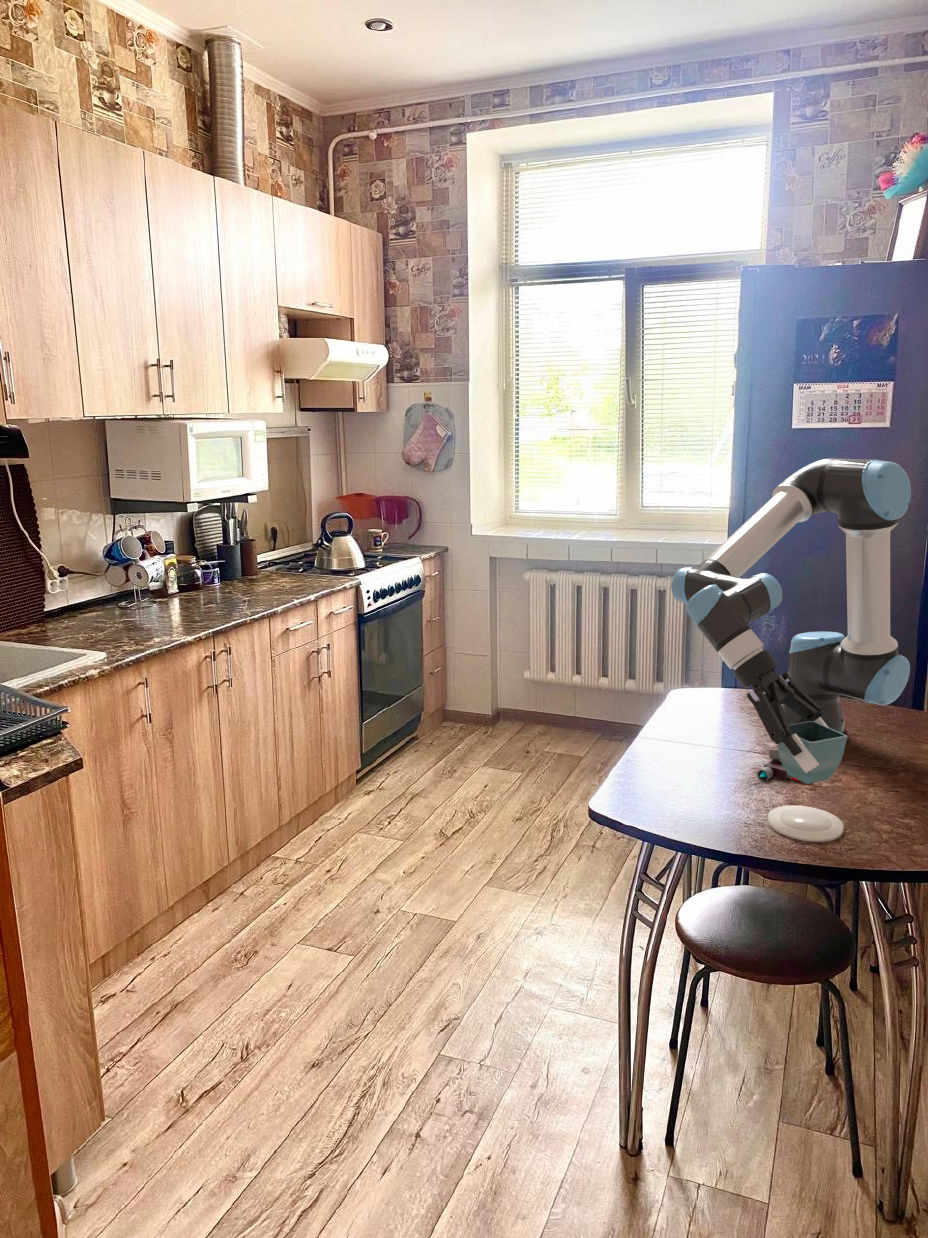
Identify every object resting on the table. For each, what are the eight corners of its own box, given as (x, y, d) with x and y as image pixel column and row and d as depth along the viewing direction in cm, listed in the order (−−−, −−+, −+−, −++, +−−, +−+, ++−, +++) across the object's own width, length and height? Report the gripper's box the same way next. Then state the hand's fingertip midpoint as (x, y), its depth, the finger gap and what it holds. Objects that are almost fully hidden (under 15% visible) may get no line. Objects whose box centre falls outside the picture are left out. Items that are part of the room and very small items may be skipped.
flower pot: (806, 791, 162) (810, 742, 160) (771, 772, 170) (775, 726, 168) (844, 783, 166) (849, 735, 164) (808, 765, 173) (812, 720, 171)
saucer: (810, 806, 178) (810, 800, 178) (859, 835, 166) (859, 829, 166) (753, 816, 174) (753, 810, 174) (798, 846, 162) (799, 840, 162)
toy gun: (752, 780, 191) (753, 758, 190) (777, 764, 200) (779, 743, 199) (797, 793, 185) (799, 770, 184) (821, 776, 194) (823, 754, 193)
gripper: (760, 658, 182) (832, 752, 176) (705, 684, 165) (782, 789, 159) (788, 636, 178) (864, 731, 171) (735, 661, 161) (816, 768, 154)
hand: (825, 759), depth 165 cm, fingers closed on flower pot, 11 cm apart
